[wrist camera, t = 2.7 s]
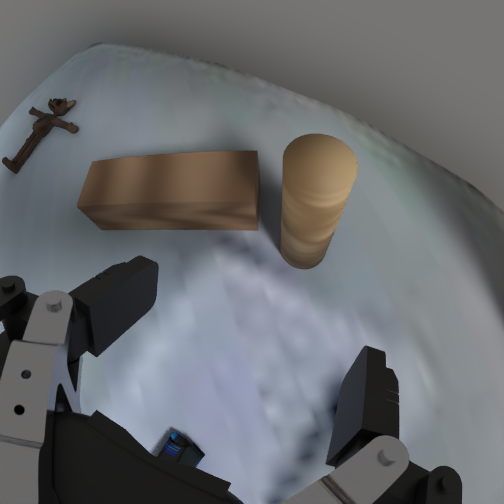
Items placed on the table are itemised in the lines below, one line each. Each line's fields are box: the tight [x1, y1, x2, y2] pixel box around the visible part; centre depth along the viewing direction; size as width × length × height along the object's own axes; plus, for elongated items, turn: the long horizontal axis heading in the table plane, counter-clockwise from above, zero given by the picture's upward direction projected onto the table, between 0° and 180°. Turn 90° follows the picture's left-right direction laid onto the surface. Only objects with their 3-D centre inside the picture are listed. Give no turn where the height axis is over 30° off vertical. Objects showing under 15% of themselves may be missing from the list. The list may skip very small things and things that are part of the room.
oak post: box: [280, 134, 358, 269], centre depth 21 cm, size 4×4×12 cm
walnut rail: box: [77, 151, 260, 230], centre depth 27 cm, size 16×5×5 cm, turn 87°
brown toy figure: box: [2, 98, 78, 174], centre depth 35 cm, size 18×4×14 cm
